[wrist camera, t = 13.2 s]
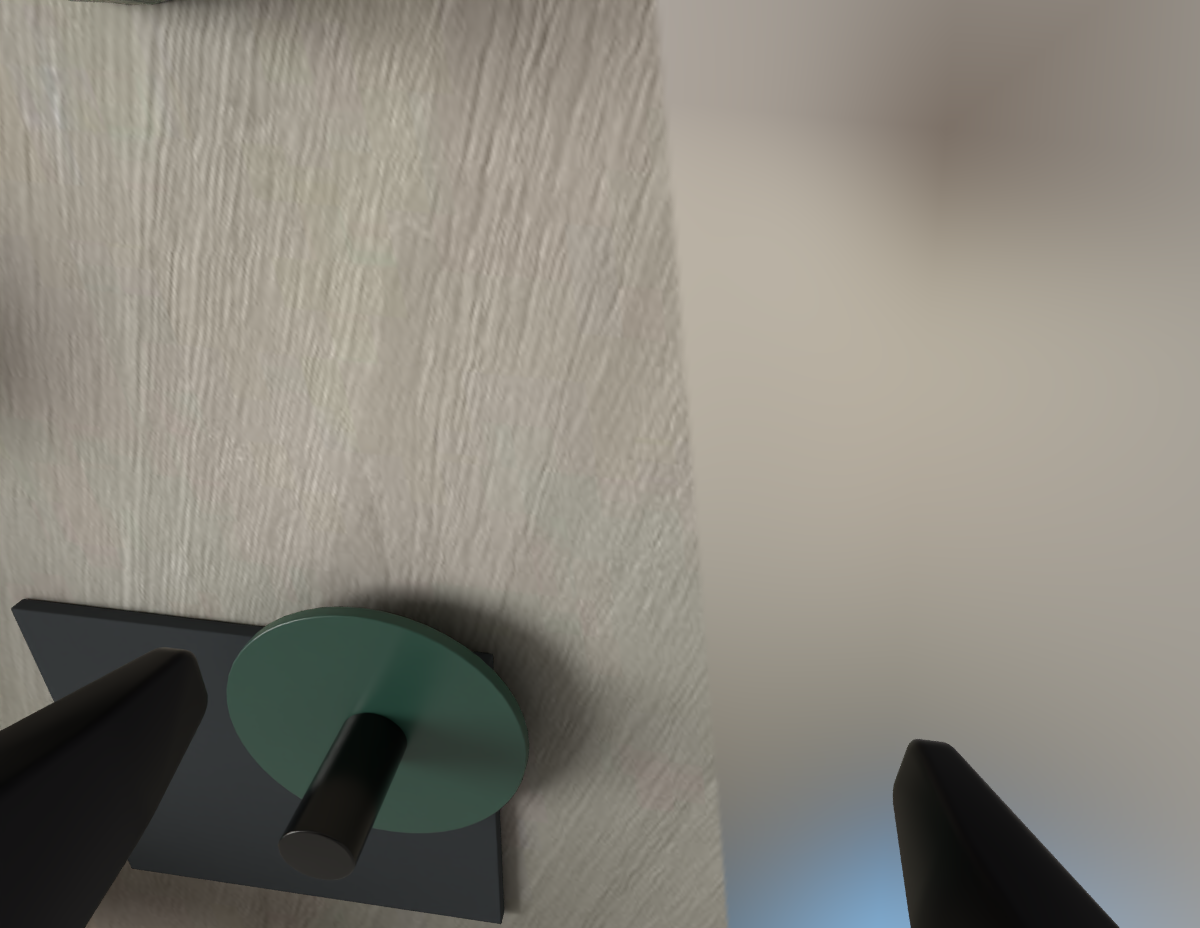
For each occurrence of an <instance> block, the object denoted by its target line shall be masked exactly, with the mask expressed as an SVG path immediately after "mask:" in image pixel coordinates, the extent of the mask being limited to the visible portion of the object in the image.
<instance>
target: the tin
mask: <svg viewBox="0 0 1200 928" xmlns="http://www.w3.org/2000/svg"><path fill="white" fill-rule="evenodd" d="M70 1H82V2H107V3H118V4H126V5H138V4H156V3H161V2H165V1H170V0H70Z"/></svg>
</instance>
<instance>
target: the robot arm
mask: <svg viewBox="0 0 1200 928" xmlns="http://www.w3.org/2000/svg"><path fill="white" fill-rule="evenodd" d="M207 703H208V694H207V690H206V687H205V684H204V681H203V678H202V675H201V672H200V668H199V665H198V662H197V659H196V657H195V655H194V654H193V653H192V652H191V651H188V650H183V649H175V648H167V647H162V648H157V649H154V650H152V651H150V652H148V653H146V654H144V655H142V656H140V657H138V658H137V659H135V660H133V661H131V662H129V663H127V664H125V665H123V666H122V667H120V668H118V669H116V670H114V671H112V672H110V673H108V674H107V675H105V676H103V677H101V678H99V679H97V680H95V681H93V682H91V683H90V684H88V685H86V686H84V687H82V688H80V689H78V690H76V691H75V692H73V693H71V694H69V695H67V696H65V697H63V698H61V699H60V700H58V701H56V702H54V703H52V704H50V705H48V706H46V707H44V708H43V709H41V710H39V711H37V712H35V713H33V714H31V715H29V716H28V717H26V718H24V719H22V720H20V721H18V722H16V723H14V724H13V725H11V726H9V727H7V728H5V729H3V730H1V731H0V928H85V927H86V925H87V923H88V922H89V920H90V919H91V917H92V915H93V914H94V912H95V911H96V909H97V907H98V906H99V904H100V903H101V901H102V899H103V898H104V896H105V895H106V893H107V891H108V890H109V888H110V887H111V885H112V883H113V882H114V880H115V879H116V877H117V875H118V874H119V872H120V871H121V869H122V867H123V866H124V864H125V863H126V861H127V859H128V858H129V856H130V855H131V853H132V851H133V850H134V848H135V847H136V845H137V843H138V842H139V840H140V838H141V837H142V835H143V833H144V831H145V830H146V828H147V826H148V824H149V823H150V821H151V819H152V817H153V815H154V813H155V812H156V810H157V808H158V806H159V804H160V802H161V800H162V798H163V796H164V794H165V792H166V790H167V788H168V786H169V784H170V782H171V780H172V778H173V776H174V774H175V772H176V770H177V768H178V766H179V764H180V762H181V760H182V758H183V756H184V754H185V752H186V750H187V748H188V746H189V744H190V742H191V740H192V738H193V736H194V734H195V732H196V731H197V729H198V727H199V725H200V723H201V721H202V719H203V717H204V714H205V712H206V708H207ZM893 805H894V813H895V820H896V827H897V834H898V841H899V848H900V855H901V863H902V870H903V877H904V884H905V890H906V897H907V905H908V912H909V919H910V925H911V928H1119V927H1118V925H1117V924H1116V923H1115V922H1114V921H1113V920H1112V919H1111V918H1110V917H1109V916H1108V915H1107V914H1106V912H1105V911H1104V910H1103V909H1102V908H1101V907H1100V906H1099V905H1098V904H1097V903H1096V902H1095V900H1094V899H1093V898H1092V897H1091V896H1090V895H1089V894H1088V893H1087V892H1086V891H1085V890H1084V889H1083V887H1082V886H1081V885H1080V884H1079V883H1078V882H1077V881H1076V880H1075V879H1074V878H1073V877H1072V876H1071V875H1070V873H1069V872H1068V871H1067V870H1066V869H1065V868H1064V867H1063V866H1062V865H1061V864H1060V863H1059V862H1058V860H1057V859H1056V858H1055V857H1054V856H1053V855H1052V854H1051V853H1050V852H1049V851H1048V849H1046V847H1045V846H1044V845H1043V844H1042V843H1041V842H1040V841H1039V840H1038V839H1037V838H1036V836H1035V835H1034V834H1033V833H1032V832H1031V831H1030V830H1029V829H1028V828H1027V827H1026V826H1025V825H1024V824H1023V822H1022V821H1021V820H1020V819H1019V818H1018V817H1017V816H1016V815H1015V814H1014V813H1013V812H1012V810H1011V809H1010V808H1009V807H1008V806H1007V805H1006V804H1005V803H1004V802H1003V801H1002V800H1001V799H1000V797H999V796H998V795H996V793H995V792H994V791H993V790H992V789H991V788H990V787H989V785H988V784H987V783H986V782H985V781H984V780H983V779H982V778H981V777H980V776H979V775H978V774H977V772H976V771H975V770H974V769H973V768H972V767H971V766H970V765H969V764H968V763H967V762H966V761H965V759H964V758H963V757H962V756H961V755H960V754H959V753H958V752H957V751H956V750H955V749H954V748H953V747H952V746H950V745H949V744H947V743H944V742H938V741H930V740H922V739H915V740H913V741H911V743H909V745H908V747H907V750H906V752H905V755H904V758H903V761H902V763H901V766H900V769H899V772H898V774H897V777H896V780H895V783H894V787H893Z"/></svg>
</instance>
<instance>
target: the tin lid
mask: <svg viewBox="0 0 1200 928" xmlns="http://www.w3.org/2000/svg"><path fill="white" fill-rule="evenodd" d="M227 705H228V710H229V714H230V718H231V721H232V723H233V726H234V728H235V731H236V733H237V734H238V736H239V738H240V740H241V742H242V743H243V745H244V746H245V748H246V749H247V750H248V752H249V753H250V755H251V756H252V757H253V758H254V760H255V761H256V762H257V763H258V764H259V765H260V766H261V767H262V768H263V769H264V770H265V771H266V772H267V773H268V774H269V775H270V776H271V777H272V778H273V779H274V780H276V781H277V782H278V783H279V784H281V785H282V786H283V787H285V788H286V789H287V790H289V791H290V792H291V793H293V794H295V795H296V796H298V797H299V798H301V799H302V800H301V802H300V804H299V805H298V807H297V809H296V811H295V813H294V814H293V816H292V818H291V820H290V822H289V824H288V825H287V827H286V829H285V831H284V833H283V835H282V836H281V838H280V840H279V845H278V848H279V852H280V855H281V856H282V858H283V859H284V860H285V861H286V863H287V864H289V865H290V866H291V867H292V868H294V869H295V870H297V871H299V872H301V873H303V874H305V875H307V876H310V877H313V878H317V879H322V880H338V879H342V878H345V877H347V876H348V875H350V874H351V873H352V872H353V870H354V869H355V866H356V864H357V862H358V859H359V857H360V855H361V852H362V850H363V848H364V845H365V843H366V841H367V839H368V836H369V834H370V832H371V829H372V828H376V829H381V830H387V831H393V832H404V833H435V832H444V831H450V830H455V829H460V828H463V827H466V826H470V825H473V824H475V823H477V822H479V821H482V820H484V819H486V818H488V817H489V816H491V815H492V814H494V813H496V812H497V811H498V810H500V809H501V808H502V807H503V806H504V805H505V804H506V803H507V802H508V801H509V800H510V799H511V797H512V796H513V795H514V794H515V792H516V791H517V789H518V787H519V785H520V783H521V781H522V779H523V776H524V772H525V769H526V765H527V761H528V754H529V739H528V730H527V727H526V723H525V720H524V716H523V714H522V712H521V709H520V707H519V705H518V703H517V701H516V699H515V698H514V696H513V695H512V693H511V692H510V690H509V688H508V687H507V685H506V684H505V683H504V682H503V681H502V680H501V678H500V677H499V676H498V675H497V674H496V673H495V671H494V670H492V669H491V668H490V667H489V666H488V665H487V664H486V663H485V662H484V661H483V660H482V659H481V658H480V657H478V656H477V655H476V654H474V653H473V652H472V651H470V650H469V649H468V648H466V647H465V646H464V645H462V644H460V643H459V642H457V641H455V640H454V639H452V638H450V637H449V636H447V635H446V634H444V633H441V632H439V631H437V630H435V629H433V628H431V627H429V626H427V625H425V624H422V623H419V622H417V621H414V620H411V619H409V618H406V617H403V616H399V615H395V614H391V613H388V612H384V611H378V610H372V609H366V608H357V607H322V608H315V609H310V610H304V611H300V612H297V613H293V614H290V615H287V616H284V617H282V618H280V619H278V620H276V621H274V622H272V623H270V624H268V625H267V626H266V627H264V628H263V629H261V630H260V631H259V632H257V633H256V634H255V635H254V636H253V637H252V638H251V639H250V640H249V642H248V643H247V644H246V645H245V646H244V647H243V649H242V650H241V651H240V653H239V654H238V656H237V658H236V659H235V661H234V662H233V665H232V668H231V670H230V673H229V676H228V683H227Z"/></svg>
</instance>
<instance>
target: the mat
mask: <svg viewBox="0 0 1200 928" xmlns="http://www.w3.org/2000/svg"><path fill="white" fill-rule="evenodd" d="M11 610H12V612H13V615H14V617H15V619H16V621H17V623H18V625H19V627H20V630H21V632H22V634H23V636H24V638H25V640H26V642H27V645H28V647H29V649H30V651H31V653H32V655H33V657H34V660H35V662H36V664H37V666H38V668H39V670H40V672H41V675H42V677H43V679H44V681H45V683H46V685H47V687H48V690H49V692H50V694H51V696H52V698H53V700H54V702H56V701H58V700H60V699H61V698H63V697H65V696H67V695H69V694H71V693H73V692H75V691H76V690H78V689H80V688H82V687H84V686H86V685H88V684H90V683H91V682H93V681H95V680H97V679H99V678H101V677H103V676H105V675H107V674H108V673H110V672H112V671H114V670H116V669H118V668H120V667H122V666H123V665H125V664H127V663H129V662H131V661H133V660H135V659H137V658H138V657H140V656H142V655H144V654H146V653H148V652H150V651H152V650H154V649H157V648H162V647H167V648H175V649H183V650H188V651H191V652H192V653H193V654H194V655H195V657H196V659H197V662H198V665H199V668H200V672H201V675H202V678H203V681H204V684H205V687H206V690H207V694H208V703H207V708H206V712H205V714H204V717H203V719H202V721H201V723H200V725H199V727H198V729H197V731H196V732H195V734H194V736H193V738H192V740H191V742H190V744H189V746H188V748H187V750H186V752H185V754H184V756H183V758H182V760H181V762H180V764H179V766H178V768H177V770H176V772H175V774H174V776H173V778H172V780H171V782H170V784H169V786H168V788H167V790H166V792H165V794H164V796H163V798H162V800H161V802H160V804H159V806H158V808H157V810H156V812H155V813H154V815H153V817H152V819H151V821H150V823H149V824H148V826H147V828H146V830H145V831H144V833H143V835H142V837H141V838H140V840H139V842H138V843H137V845H136V847H135V848H134V850H133V851H132V853H131V855H130V856H129V858H128V861H129V863H130V865H131V868H132V869H139V870H145V871H152V872H159V873H165V874H172V875H179V876H185V877H192V878H198V879H205V880H212V881H218V882H225V883H232V884H238V885H245V886H252V887H258V888H265V889H272V890H278V891H285V892H291V893H298V894H305V895H311V896H318V897H325V898H331V899H338V900H345V901H351V902H358V903H365V904H371V905H378V906H384V907H391V908H398V909H404V910H411V911H418V912H424V913H431V914H438V915H444V916H451V917H458V918H464V919H471V920H477V921H484V922H491V923H497V924H501V923H502V919H503V915H504V897H503V874H502V851H501V828H500V810H498V811H497V812H496V813H494V814H492V815H491V816H489V817H488V818H486V819H484V820H482V821H479V822H477V823H475V824H473V825H470V826H466V827H463V828H460V829H455V830H450V831H444V832H435V833H404V832H393V831H387V830H381V829H376V828H372V829H371V832H370V834H369V836H368V839H367V841H366V843H365V845H364V848H363V850H362V852H361V855H360V857H359V859H358V862H357V864H356V866H355V869H354V870H353V872H352V873H351V874H350V875H348V876H347V877H345V878H342V879H338V880H322V879H317V878H313V877H310V876H307V875H305V874H303V873H301V872H299V871H297V870H295V869H294V868H292V867H291V866H290V865H289V864H287V863H286V861H285V860H284V859H283V858H282V856H281V855H280V852H279V848H278V845H279V840H280V838H281V836H282V835H283V833H284V831H285V829H286V827H287V825H288V824H289V822H290V820H291V818H292V816H293V814H294V813H295V811H296V809H297V807H298V805H299V804H300V802H301V800H302V799H301V798H299V797H298V796H296V795H295V794H293V793H291V792H290V791H289V790H287V789H286V788H285V787H283V786H282V785H281V784H279V783H278V782H277V781H276V780H274V779H273V778H272V777H271V776H270V775H269V774H268V773H267V772H266V771H265V770H264V769H263V768H262V767H261V766H260V765H259V764H258V763H257V762H256V761H255V760H254V758H253V757H252V756H251V755H250V753H249V752H248V750H247V749H246V748H245V746H244V745H243V743H242V742H241V740H240V738H239V736H238V734H237V733H236V731H235V728H234V726H233V723H232V721H231V718H230V714H229V710H228V705H227V683H228V676H229V673H230V670H231V668H232V665H233V662H234V661H235V659H236V658H237V656H238V654H239V653H240V651H241V650H242V649H243V647H244V646H245V645H246V644H247V643H248V642H249V640H250V639H251V638H252V637H253V636H254V635H255V634H256V633H257V632H259V631H260V630H261V629H263V628H264V627H258V626H250V625H241V624H233V623H224V622H216V621H207V620H199V619H190V618H182V617H173V616H165V615H156V614H148V613H139V612H131V611H122V610H114V609H105V608H97V607H88V606H80V605H72V604H63V603H55V602H46V601H38V600H29V599H23V600H21V601H20V602H19V603H17V604H16V605H15V606H13V607H12V608H11ZM473 653H474V654H476V655H477V656H478V657H480V658H481V659H482V660H483V661H484V662H485V663H486V664H487V665H488V666H489V667H490V668H491V669H492V670H494V666H493V654H488V653H479V652H473Z"/></svg>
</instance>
